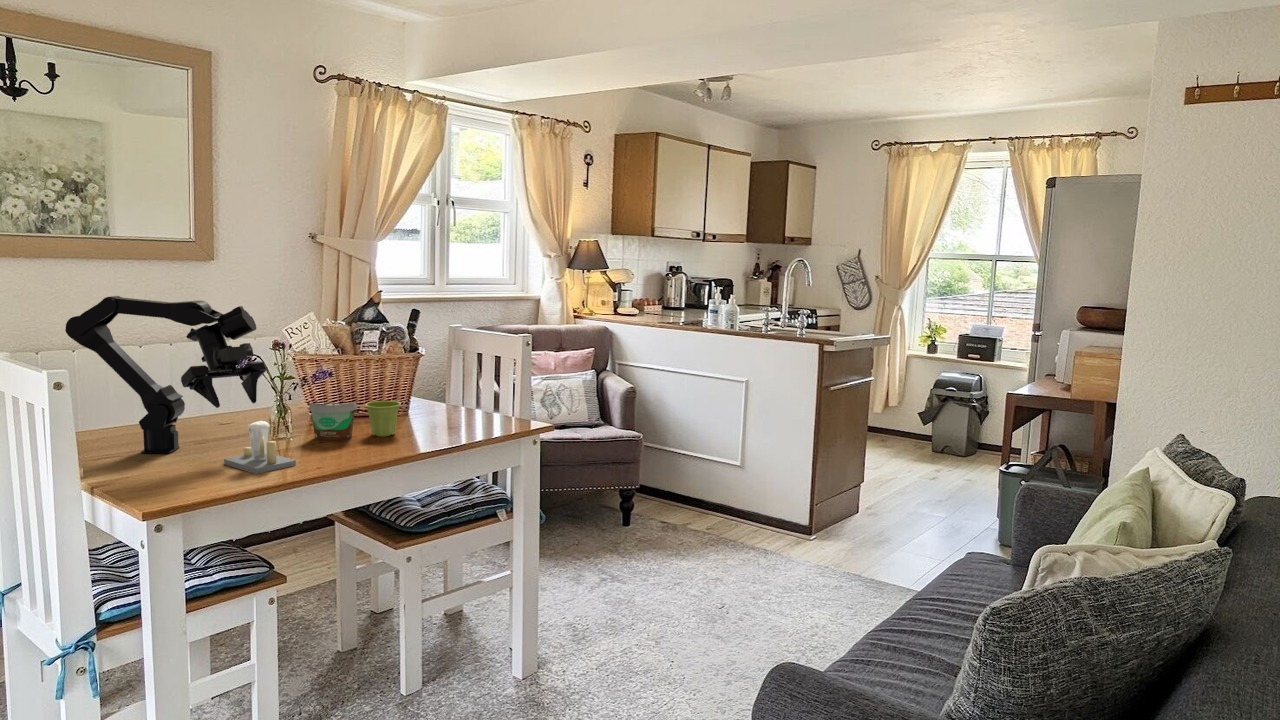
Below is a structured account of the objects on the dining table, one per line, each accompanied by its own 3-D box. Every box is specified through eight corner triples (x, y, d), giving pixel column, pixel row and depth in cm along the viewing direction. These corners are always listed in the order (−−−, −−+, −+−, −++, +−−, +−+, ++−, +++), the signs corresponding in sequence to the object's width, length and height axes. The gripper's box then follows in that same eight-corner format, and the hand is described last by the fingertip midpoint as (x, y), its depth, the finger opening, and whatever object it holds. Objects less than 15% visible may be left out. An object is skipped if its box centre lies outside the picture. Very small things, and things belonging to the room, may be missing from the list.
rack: (224, 463, 194) (223, 438, 193) (263, 455, 202) (263, 431, 201) (256, 473, 187) (255, 447, 186) (295, 465, 195) (295, 439, 194)
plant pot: (365, 438, 223) (365, 407, 222) (365, 431, 232) (365, 401, 231) (401, 437, 226) (401, 406, 225) (400, 430, 235) (400, 400, 234)
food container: (306, 443, 216) (305, 405, 214) (309, 438, 222) (308, 401, 220) (356, 442, 219) (355, 405, 218) (357, 436, 225) (357, 400, 224)
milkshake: (250, 457, 196) (249, 415, 195) (273, 457, 196) (272, 416, 195) (242, 461, 192) (241, 419, 190) (266, 462, 192) (265, 420, 191)
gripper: (192, 333, 189) (215, 392, 185) (266, 330, 204) (288, 385, 201) (170, 356, 194) (192, 415, 191) (244, 352, 210) (266, 406, 207)
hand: (236, 404), depth 197 cm, fingers open, 9 cm apart
